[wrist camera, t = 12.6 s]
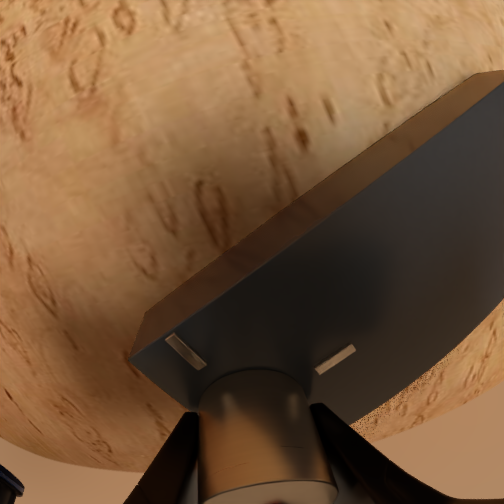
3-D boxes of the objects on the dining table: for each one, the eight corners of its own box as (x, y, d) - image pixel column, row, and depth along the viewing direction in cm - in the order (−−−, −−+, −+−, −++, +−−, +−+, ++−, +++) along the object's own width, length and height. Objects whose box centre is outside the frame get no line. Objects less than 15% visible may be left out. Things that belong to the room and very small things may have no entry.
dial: (176, 403, 9) (166, 517, 5) (264, 349, 9) (296, 476, 4) (243, 447, 10) (256, 542, 6) (323, 405, 10) (362, 503, 6)
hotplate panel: (475, 73, 9) (523, 67, 6) (521, 210, 12) (561, 225, 9) (111, 338, 11) (88, 388, 8) (231, 434, 14) (235, 482, 11)
